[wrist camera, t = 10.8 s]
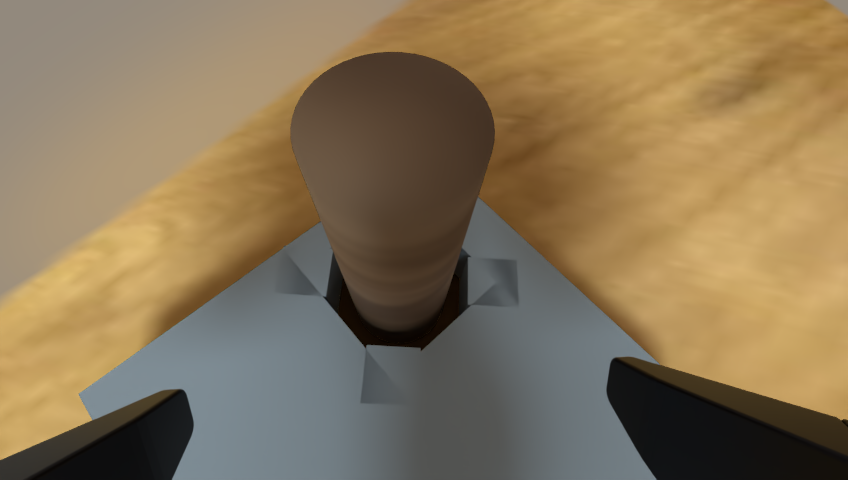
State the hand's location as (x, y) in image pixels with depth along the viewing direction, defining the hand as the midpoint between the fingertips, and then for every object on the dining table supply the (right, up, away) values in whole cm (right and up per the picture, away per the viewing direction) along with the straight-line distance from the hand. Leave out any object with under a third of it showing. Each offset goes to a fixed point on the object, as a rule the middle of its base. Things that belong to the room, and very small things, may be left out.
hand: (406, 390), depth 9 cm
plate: (0, -4, +8) cm, 9 cm away
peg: (-1, 0, +10) cm, 10 cm away
